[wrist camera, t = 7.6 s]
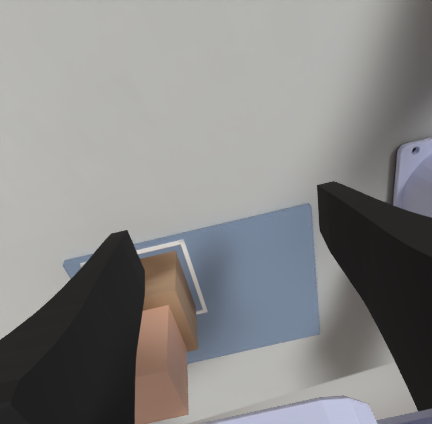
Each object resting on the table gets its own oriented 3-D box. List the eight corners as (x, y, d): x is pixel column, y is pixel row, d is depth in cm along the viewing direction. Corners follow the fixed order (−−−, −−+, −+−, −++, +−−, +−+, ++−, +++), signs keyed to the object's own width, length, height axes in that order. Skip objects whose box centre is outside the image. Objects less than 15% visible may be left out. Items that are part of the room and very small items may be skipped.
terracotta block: (168, 304, 21) (166, 370, 17) (186, 348, 23) (188, 414, 19) (100, 320, 21) (82, 389, 17) (125, 361, 23) (114, 430, 20)
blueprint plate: (308, 203, 23) (311, 207, 23) (318, 329, 31) (320, 335, 30) (64, 260, 24) (62, 266, 23) (131, 371, 31) (130, 377, 31)
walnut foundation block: (175, 250, 24) (175, 290, 20) (195, 306, 27) (198, 349, 23) (95, 269, 24) (81, 311, 20) (124, 322, 27) (117, 367, 24)
